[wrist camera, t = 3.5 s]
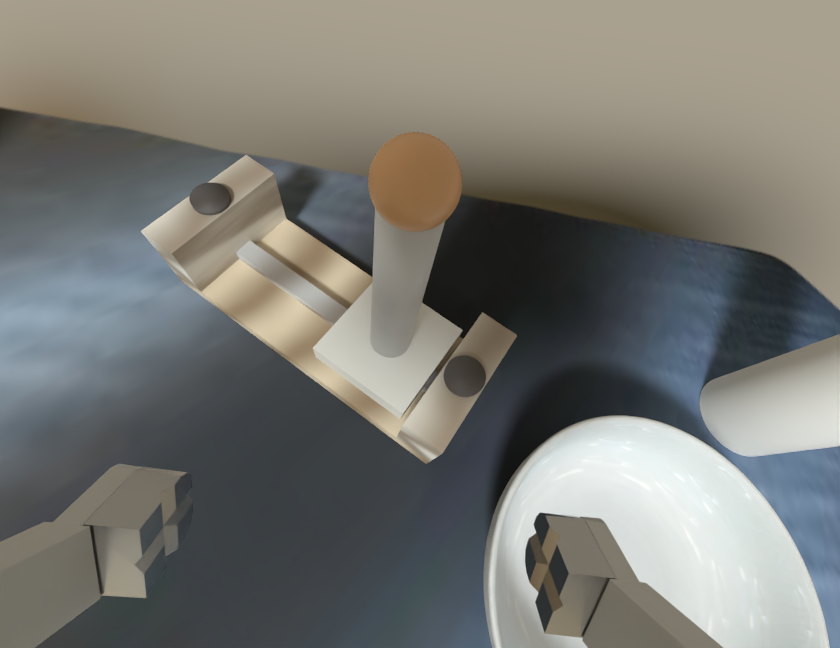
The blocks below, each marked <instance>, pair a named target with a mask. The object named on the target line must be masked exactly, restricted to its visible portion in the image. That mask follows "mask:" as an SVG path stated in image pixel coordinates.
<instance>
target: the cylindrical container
mask: <svg viewBox="0 0 840 648" xmlns="http://www.w3.org/2000/svg"><path fill="white" fill-rule="evenodd" d="M699 405H700V412H701V415H702V418H703V420H704V422H705V425H706V427H707V428H708V430H709V431H710V433H711V434H712V435H713V436H714V437H715V439H716V440H717V441H718V442H720V443H721V444H722V445H723V446H724V447H726V448H727V449H729V450H731V451H732V452H735V453H737V454H739V455H743V456H762V455H770V454H778V453H786V452H795V451H803V450H811V449H819V448H828V447H836V446H840V334H839V335H836V336H833V337H830V338H828V339H825V340H822V341H819V342H816V343H814V344H811V345H808V346H805V347H802V348H800V349H797V350H794V351H791V352H788V353H786V354H783V355H780V356H777V357H774V358H772V359H769V360H766V361H763V362H760V363H758V364H755V365H752V366H749V367H746V368H744V369H741V370H738V371H735V372H732V373H729V374H727V375H724V376H721V377H718V378H715V379H713V380H711V381H709V382H708V383H707V384H706V385H705V386H704V387H703V389H702V391H701V394H700V401H699Z"/></svg>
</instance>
